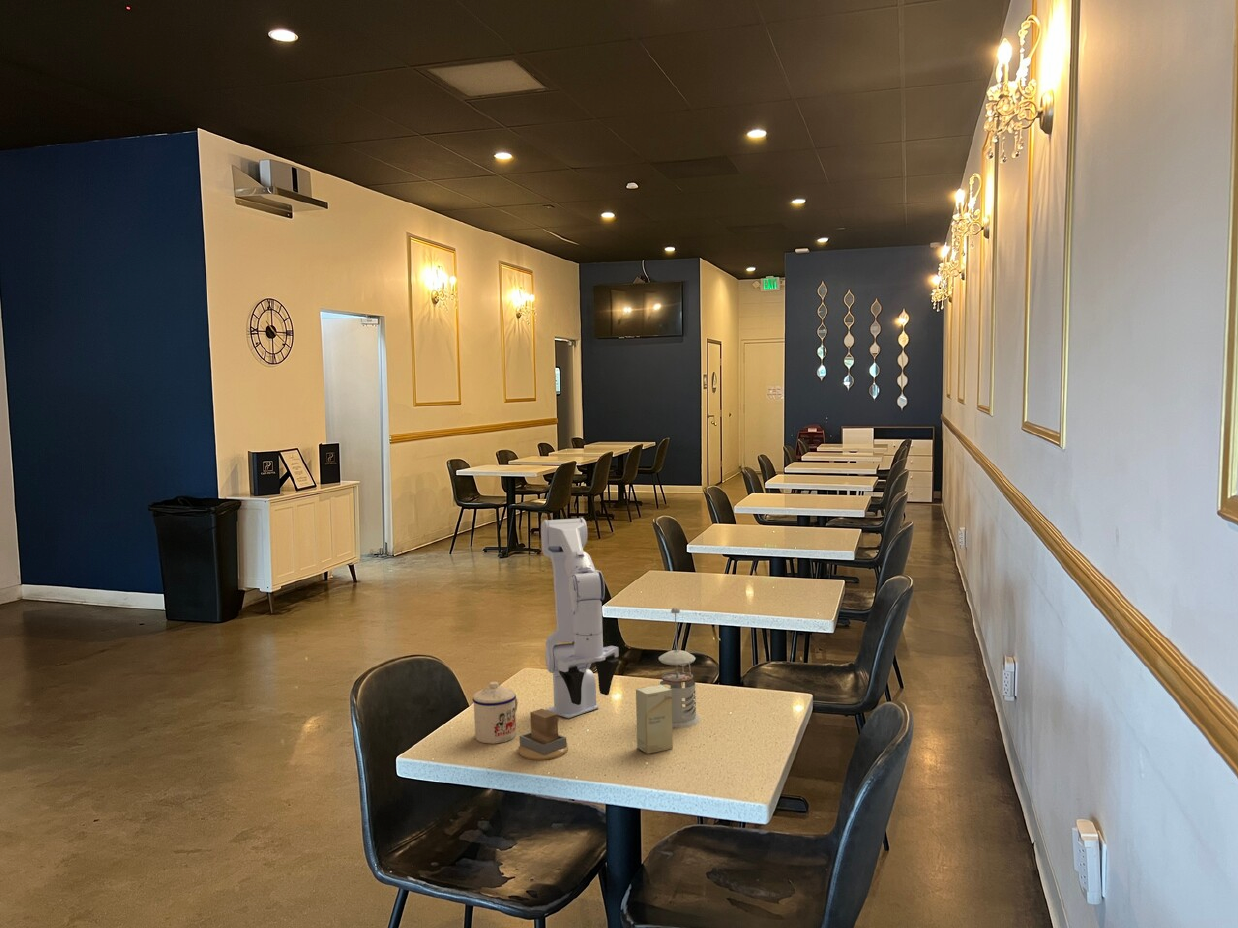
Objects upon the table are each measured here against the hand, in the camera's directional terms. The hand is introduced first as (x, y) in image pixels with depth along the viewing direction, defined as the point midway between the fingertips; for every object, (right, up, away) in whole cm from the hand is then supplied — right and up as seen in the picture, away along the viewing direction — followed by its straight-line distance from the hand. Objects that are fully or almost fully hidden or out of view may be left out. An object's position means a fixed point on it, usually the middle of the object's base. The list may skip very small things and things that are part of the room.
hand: (590, 698), depth 181 cm
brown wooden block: (-9, -10, 0) cm, 13 cm away
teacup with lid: (-20, -11, +11) cm, 25 cm away
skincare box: (+13, -10, 0) cm, 17 cm away
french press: (+19, -9, +17) cm, 27 cm away
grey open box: (-10, -11, +1) cm, 14 cm away
